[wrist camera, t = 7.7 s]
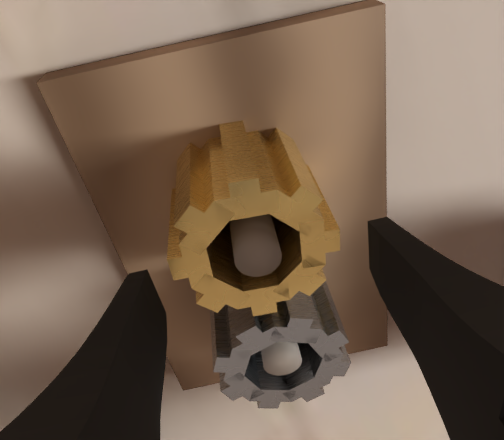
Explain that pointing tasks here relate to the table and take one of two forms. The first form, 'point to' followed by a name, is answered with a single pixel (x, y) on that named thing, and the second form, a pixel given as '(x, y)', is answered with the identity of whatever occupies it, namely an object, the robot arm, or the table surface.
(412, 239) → the robot arm
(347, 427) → the table surface
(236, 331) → the steel gear
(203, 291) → the brass gear
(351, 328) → the board
